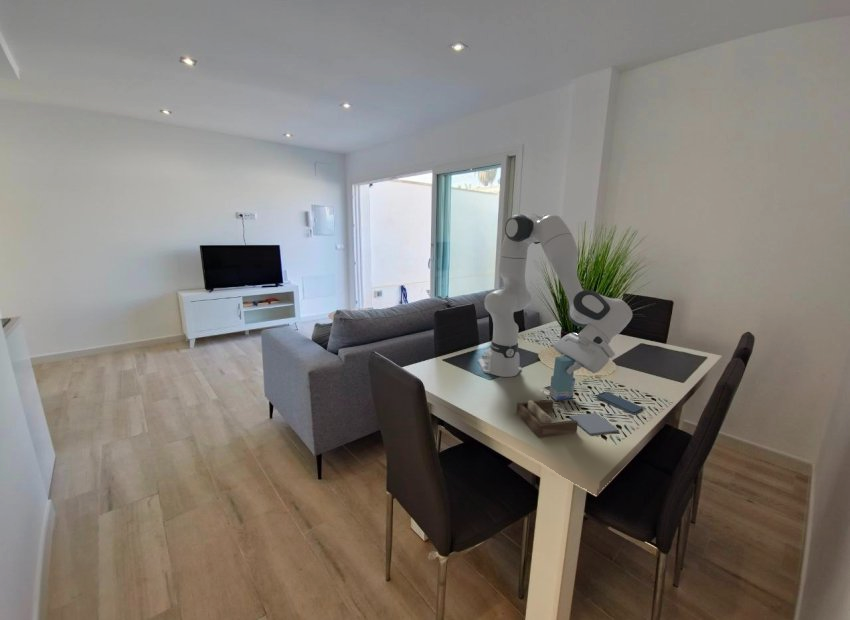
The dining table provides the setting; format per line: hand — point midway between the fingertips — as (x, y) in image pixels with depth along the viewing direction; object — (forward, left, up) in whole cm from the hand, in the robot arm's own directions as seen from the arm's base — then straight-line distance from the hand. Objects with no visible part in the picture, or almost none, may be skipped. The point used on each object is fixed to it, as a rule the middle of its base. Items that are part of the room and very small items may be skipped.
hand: (562, 369), depth 116 cm
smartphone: (-7, +32, -20) cm, 38 cm away
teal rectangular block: (0, +1, -7) cm, 7 cm away
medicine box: (-16, +13, -19) cm, 28 cm away
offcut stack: (0, -7, -19) cm, 20 cm away
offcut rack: (0, -4, -19) cm, 20 cm away
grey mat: (+4, +12, -19) cm, 23 cm away
